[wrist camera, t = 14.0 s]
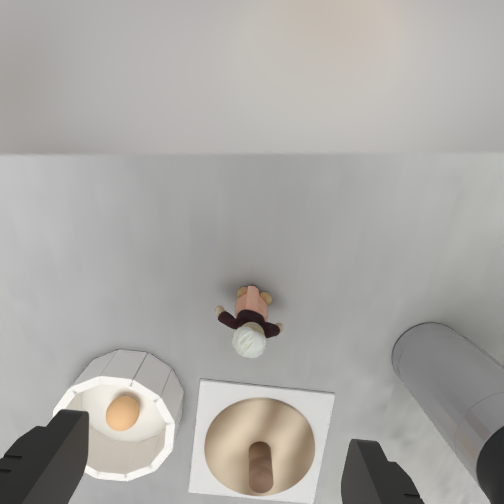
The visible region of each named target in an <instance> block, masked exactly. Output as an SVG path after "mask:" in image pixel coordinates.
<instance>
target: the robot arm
mask: <svg viewBox="0 0 504 504" xmlns="http://www.w3.org/2000/svg"><path fill="white" fill-rule="evenodd" d="M392 362H393V367H394V370H395V372H396V373H397V375H398V376H399V378H400V379H401V380H402V382H403V383H404V384H405V386H406V387H407V389H408V390H409V391H410V393H411V394H412V396H413V397H414V398H415V400H416V401H417V402H418V404H419V405H420V406H421V408H422V409H423V411H424V412H425V413H426V415H427V416H428V417H429V419H430V420H431V421H432V423H433V424H434V426H435V427H436V428H437V430H438V431H439V432H440V434H441V435H442V436H443V438H444V439H445V440H446V442H447V443H448V445H449V446H450V447H451V449H452V450H453V451H454V453H455V454H456V455H457V457H458V458H459V460H460V461H461V462H462V463H463V465H464V466H465V467H466V469H467V470H468V472H469V473H470V474H471V476H472V477H473V478H474V480H475V481H476V482H477V484H478V485H479V487H480V488H481V489H482V490H483V492H484V493H485V495H486V496H487V497H488V499H489V500H490V503H491V504H504V366H503V365H501V364H500V363H499V362H497V361H496V360H495V359H493V358H492V357H491V356H490V355H488V354H487V353H486V352H484V351H483V350H482V349H480V348H479V347H478V346H476V345H475V344H474V343H472V342H471V341H470V340H468V339H467V338H465V337H461V336H460V335H459V334H457V333H456V332H455V331H453V330H452V329H450V328H449V327H447V326H445V325H442V324H437V323H425V324H421V325H417V326H415V327H413V328H411V329H410V330H408V331H407V332H406V333H404V334H403V335H402V336H401V337H400V339H399V340H398V342H397V343H396V345H395V347H394V350H393V355H392ZM88 448H89V413H88V412H87V411H79V410H69V409H61V410H59V411H58V412H57V414H56V415H55V416H54V417H53V419H52V420H51V421H50V422H49V424H48V425H47V426H46V427H42V426H36V427H35V428H33V429H32V430H30V431H29V432H27V433H26V434H24V435H23V436H21V437H20V438H18V439H17V440H16V442H15V443H14V444H13V445H12V446H11V447H10V449H9V450H8V451H7V452H6V453H5V454H4V457H3V458H1V459H0V504H68V502H69V500H70V498H71V497H72V495H73V493H74V491H75V489H76V487H77V485H78V484H79V482H80V480H81V478H82V476H83V473H84V471H85V468H86V464H87V460H88ZM341 495H342V502H343V504H424V502H423V500H422V499H420V494H419V493H418V491H417V489H416V487H415V485H414V483H413V481H412V479H411V478H410V477H409V475H408V474H407V473H406V472H405V471H404V470H403V469H402V468H401V467H400V466H399V465H398V464H397V463H396V462H389V461H388V460H387V458H386V456H385V454H384V452H383V450H382V448H381V446H380V444H379V443H378V442H377V441H370V440H360V439H352V440H351V441H350V444H349V448H348V453H347V457H346V462H345V466H344V471H343V475H342V480H341Z"/></svg>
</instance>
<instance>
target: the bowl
mask: <svg viewBox="0 0 504 504" xmlns="http://www.w3.org/2000/svg"><path fill="white" fill-rule="evenodd" d="M121 396H129V397H132V398H133V399H135V400H136V402H137V403H138V405H139V409H140V413H139V417H138V420H137V422H136V423H135V424H134V425H133V426H132V427H131V428H129V429H128V430H125V431H115V430H113V429H111V428H110V427H109V426H108V424H107V422H106V410H107V408H108V406H109V404H110V403H111V402H112V401H113V400H115V399H116V398H118V397H121ZM183 399H184V390H183V388H182V386H181V384H180V382H179V380H178V379H177V377H176V375H175V373H174V371H173V369H171V367H170V366H168V365H167V364H165V363H164V362H162V361H160V360H159V359H157V358H156V357H154V356H153V355H151V354H150V353H148V354H147V352H140V351H131V350H122V349H119V350H115V351H113V352H110V353H108V354H105V355H103V356H100V357H98V358H95V359H93V360H92V361H91V362H90V364H89V365H88V366H87V367H86V369H85V370H84V371H83V372H82V373H81V375H80V376H79V377H78V378H77V379H76V381H75V382H74V383H73V384H72V386H71V387H70V388H69V389H68V391H67V392H66V393H65V395H64V396H63V398H62V399H61V400H60V402H59V403H58V405H57V406H56V407H55V409H54V411H53V417H54V416H55V415H56V414H57V412H58V411H59V410H61V409H69V410H79V411H87V412H88V413H89V448H88V460H87V464H86V468H85V471H84V472H86V473H87V474H89V475H91V476H93V477H94V478H96V477H97V479H107V480H118V481H130V480H132V479H135V478H138V477H140V476H143V475H146V474H149V473H151V472H154V471H156V469H157V468H158V467H159V466H160V465H161V463H162V462H163V461H164V460H165V459H166V457H167V456H168V455H169V454H170V453H171V451H172V449H173V446H174V443H175V439H176V435H177V432H178V428H179V424H180V420H181V417H182V409H183Z"/></svg>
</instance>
